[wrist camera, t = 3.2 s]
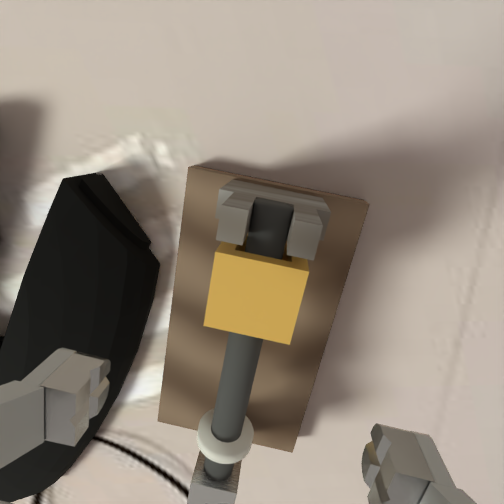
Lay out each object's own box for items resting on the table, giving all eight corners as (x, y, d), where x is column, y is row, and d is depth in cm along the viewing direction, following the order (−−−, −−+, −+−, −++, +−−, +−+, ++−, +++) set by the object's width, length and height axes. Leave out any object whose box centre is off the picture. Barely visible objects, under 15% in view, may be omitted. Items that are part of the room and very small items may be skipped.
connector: (213, 401, 28) (190, 482, 21) (248, 409, 28) (236, 493, 21) (208, 428, 29) (185, 514, 22) (242, 436, 29) (229, 524, 22)
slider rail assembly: (194, 165, 23) (135, 182, 14) (364, 200, 23) (414, 240, 14) (163, 408, 31) (111, 520, 22) (292, 437, 30) (294, 565, 21)
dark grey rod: (243, 191, 18) (233, 203, 15) (307, 204, 18) (312, 219, 15) (199, 438, 25) (184, 486, 21) (247, 449, 24) (240, 499, 21)
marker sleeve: (230, 227, 20) (215, 251, 15) (304, 243, 19) (309, 271, 15) (220, 288, 21) (203, 325, 17) (289, 303, 21) (289, 344, 17)
